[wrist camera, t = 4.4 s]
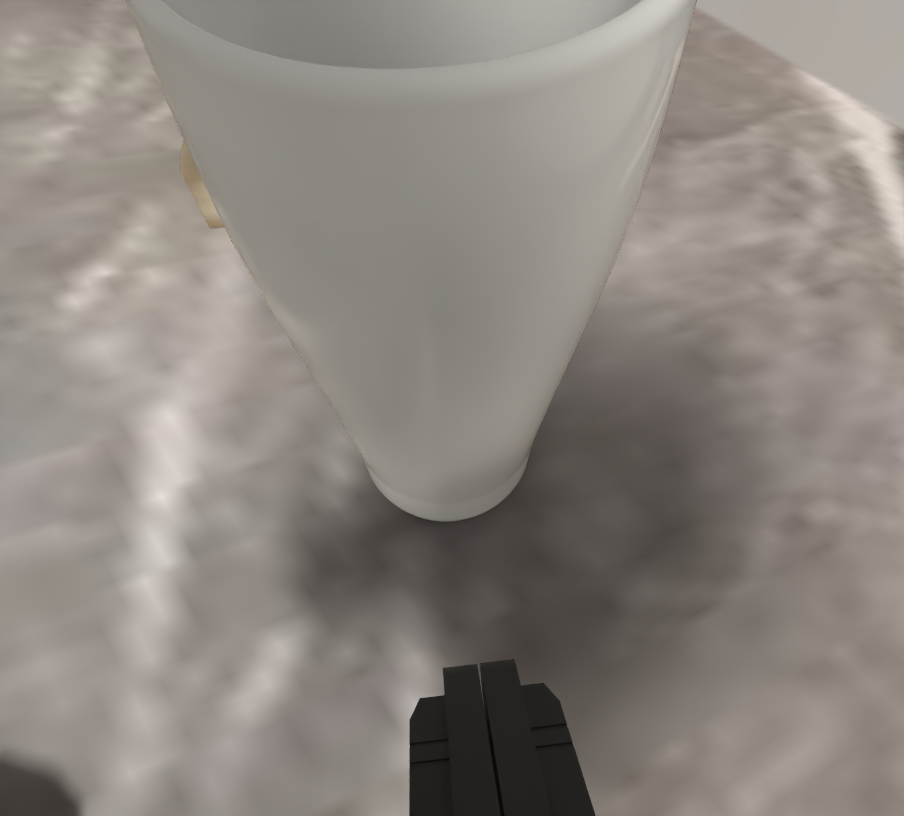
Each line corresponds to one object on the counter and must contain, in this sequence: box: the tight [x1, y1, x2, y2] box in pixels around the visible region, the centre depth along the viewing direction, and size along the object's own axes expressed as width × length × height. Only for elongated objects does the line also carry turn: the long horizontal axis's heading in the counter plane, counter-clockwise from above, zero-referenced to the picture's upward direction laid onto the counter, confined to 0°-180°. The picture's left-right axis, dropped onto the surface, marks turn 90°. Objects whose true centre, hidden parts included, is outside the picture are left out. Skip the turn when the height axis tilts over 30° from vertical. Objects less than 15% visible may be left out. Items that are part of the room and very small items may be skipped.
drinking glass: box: [125, 0, 697, 521], centre depth 13 cm, size 7×7×15 cm
